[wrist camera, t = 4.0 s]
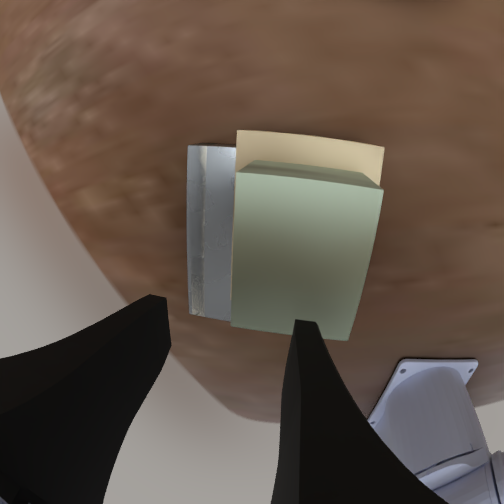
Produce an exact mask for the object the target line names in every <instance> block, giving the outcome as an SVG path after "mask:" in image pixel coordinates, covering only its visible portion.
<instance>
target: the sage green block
mask: <svg viewBox="0 0 504 504" xmlns="http://www.w3.org/2000/svg"><path fill="white" fill-rule="evenodd" d="M383 155H384V147H381V146H376V145H372V144H367V143H361V142H355V141H349V140H347V141H346V140H340V139H333V138H325V137H321V136H313V135H304V134H290V133H279V132H272V131H258V130H237V143H236V163H235V184H234V207H233V232H232V261H231V294H230V300H231V326H233V327H239V328H245V329H252V330H259V331H266V332H273V333H280V334H288V335H292V333H293V328H294V323H295V319H299V320H306V321H314V322H316V323H317V324H318V326H319V330H320V332H321V335H322V338H323V339H333V340H343V341H348V339H349V335H350V332H351V329H352V326H353V322H354V319H355V315H356V312H357V308H358V305H359V301H360V298H361V294H362V290H363V286H364V282H365V278H366V274H367V270H368V266H369V262H370V258H371V253H372V249H373V244H374V240H375V235H376V230H377V225H378V220H379V215H380V209H381V204H382V198H383V192H384V190H383V189H382V188H381V187H379V184H380V177H381V170H382V163H383Z"/></svg>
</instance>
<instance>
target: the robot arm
mask: <svg viewBox="0 0 504 504" xmlns="http://www.w3.org/2000/svg"><path fill="white" fill-rule="evenodd" d="M170 348H171V337H170V329H169V320H168V310H167V300H166V298H165V297H160V296H155V295H151V294H149V295H147V296H145V297H143V298H141V299H139V300H137V301H135V302H133V303H132V304H130V305H128V306H126V307H124V308H123V309H121V310H119V311H117V312H115V313H114V314H112V315H110V316H108V317H106V318H104V319H103V320H101V321H99V322H97V323H95V324H93V325H91V326H89V327H87V328H85V329H83V330H81V331H79V332H77V333H75V334H73V335H71V336H68V337H66V338H64V339H62V340H59V341H57V342H54V343H52V344H49V345H46V346H44V347H41V348H38V349H35V350H31V351H28V352H24V353H21V354H18V355H14V356H10V357H6V358H1V359H0V504H103V500H104V496H105V492H106V489H107V486H108V482H109V479H110V475H111V472H112V470H113V467H114V464H115V461H116V458H117V455H118V453H119V450H120V447H121V445H122V443H123V440H124V438H125V435H126V433H127V431H128V428H129V426H130V425H131V423H132V421H133V419H134V417H135V415H136V413H137V412H138V410H139V408H140V407H141V405H142V403H143V401H144V399H145V398H146V396H147V394H148V393H149V391H150V389H151V388H152V386H153V384H154V382H155V380H156V379H157V377H158V375H159V374H160V372H161V370H162V367H163V365H164V363H165V360H166V358H167V355H168V353H169V350H170ZM477 366H478V361H477V360H476V359H468V360H430V359H403V360H402V361H400V362H399V364H398V366H397V368H396V370H395V372H394V374H393V376H392V378H391V380H390V381H389V383H388V385H387V387H386V389H385V391H384V393H383V394H382V396H381V398H380V400H379V401H378V403H377V405H376V407H375V408H374V410H373V412H372V413H371V415H370V417H369V418H368V420H367V419H366V418H365V416H364V415H363V414H362V412H361V411H360V409H359V408H358V406H357V404H356V403H355V401H354V400H353V398H352V396H351V395H350V393H349V391H348V389H347V388H346V386H345V384H344V382H343V380H342V379H341V377H340V375H339V373H338V371H337V369H336V367H335V365H334V363H333V361H332V359H331V357H330V354H329V352H328V350H327V347H326V345H325V343H324V340H323V338H322V335H321V332H320V330H319V326H318V324H317V323H316V322H314V321H306V320H299V319H295V323H294V328H293V333H292V338H291V343H290V348H289V353H288V358H287V363H286V368H285V375H284V382H283V389H282V400H281V424H280V445H279V460H278V467H277V473H276V479H275V484H274V490H273V495H272V500H271V504H504V452H501V451H497V452H495V453H494V454H491V453H490V452H489V450H488V446H487V443H486V440H485V437H484V434H483V431H482V428H481V425H480V422H479V420H478V417H477V414H476V412H475V409H474V406H473V404H472V401H471V399H470V396H469V394H468V391H467V389H466V386H465V385H466V383H467V382H468V380H469V379H470V377H471V376H472V374H473V372H474V371H475V369H476V368H477ZM402 369H403V370H402Z"/></svg>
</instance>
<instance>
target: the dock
mask: <svg viewBox="0 0 504 504" xmlns="http://www.w3.org/2000/svg"><path fill="white" fill-rule="evenodd" d="M235 163H236V145H232V144H214V143H198V144H193V145H188V160H187V267H188V295H189V314H193V315H198V316H203V317H208V318H214V319H219V320H225V321H231V300H230V294H231V261H232V232H233V207H234V184H235Z"/></svg>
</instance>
